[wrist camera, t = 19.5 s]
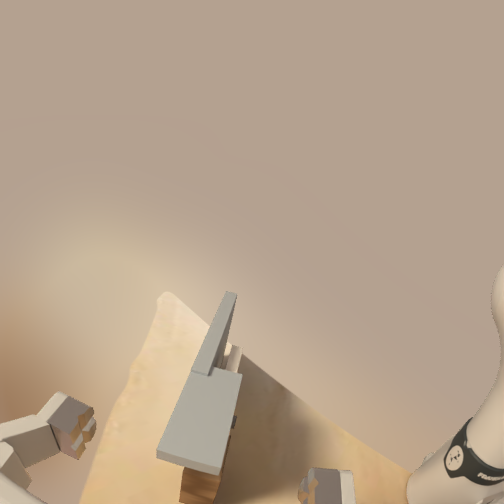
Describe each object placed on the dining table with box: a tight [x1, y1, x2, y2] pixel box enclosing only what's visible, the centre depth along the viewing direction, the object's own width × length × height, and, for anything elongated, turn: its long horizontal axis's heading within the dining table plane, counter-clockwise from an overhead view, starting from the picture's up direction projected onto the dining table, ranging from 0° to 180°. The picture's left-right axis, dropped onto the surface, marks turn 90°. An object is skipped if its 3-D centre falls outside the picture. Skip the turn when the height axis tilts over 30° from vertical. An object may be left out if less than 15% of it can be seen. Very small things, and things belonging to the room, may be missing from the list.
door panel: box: [225, 345, 243, 429], centre depth 40 cm, size 3×14×12 cm, turn 173°
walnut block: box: [179, 435, 231, 504], centre depth 31 cm, size 4×7×9 cm, turn 173°
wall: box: [157, 291, 243, 476], centre depth 41 cm, size 6×34×15 cm, turn 173°
